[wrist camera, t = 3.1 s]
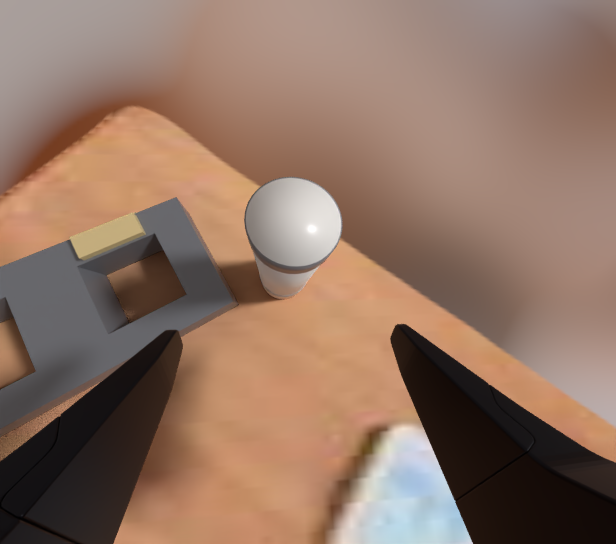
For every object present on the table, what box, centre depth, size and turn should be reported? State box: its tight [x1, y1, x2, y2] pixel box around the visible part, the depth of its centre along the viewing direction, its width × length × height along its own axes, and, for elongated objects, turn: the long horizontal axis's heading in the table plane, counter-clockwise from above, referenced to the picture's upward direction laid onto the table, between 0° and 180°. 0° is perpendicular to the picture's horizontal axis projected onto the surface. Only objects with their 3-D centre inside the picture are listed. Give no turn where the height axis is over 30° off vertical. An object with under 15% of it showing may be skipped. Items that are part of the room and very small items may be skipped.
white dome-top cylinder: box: [244, 177, 342, 299], centre depth 15 cm, size 4×4×12 cm
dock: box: [0, 197, 239, 437], centre depth 17 cm, size 21×10×4 cm, turn 121°
